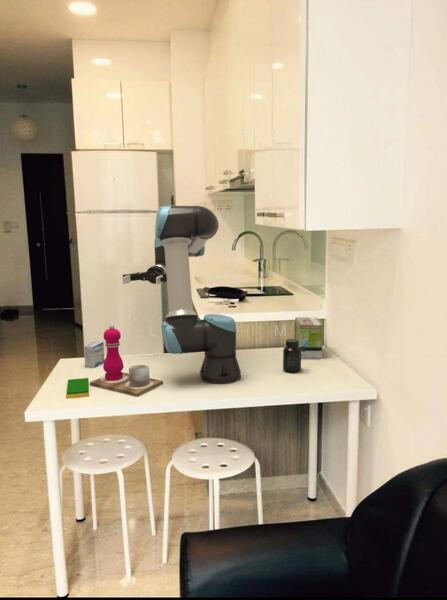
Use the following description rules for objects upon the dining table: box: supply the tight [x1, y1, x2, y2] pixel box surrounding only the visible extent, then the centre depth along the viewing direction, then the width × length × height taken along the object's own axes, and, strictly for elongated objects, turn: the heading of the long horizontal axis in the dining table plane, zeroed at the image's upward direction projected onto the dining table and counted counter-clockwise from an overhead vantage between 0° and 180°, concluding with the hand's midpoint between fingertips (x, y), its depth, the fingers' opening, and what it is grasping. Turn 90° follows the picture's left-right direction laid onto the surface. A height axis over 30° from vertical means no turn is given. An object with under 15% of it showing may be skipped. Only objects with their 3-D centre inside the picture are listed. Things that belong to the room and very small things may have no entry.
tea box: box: [294, 316, 324, 360], centre depth 215 cm, size 15×10×15 cm
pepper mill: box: [102, 323, 125, 381], centre depth 182 cm, size 7×7×20 cm
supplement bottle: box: [282, 338, 302, 374], centre depth 194 cm, size 7×7×12 cm
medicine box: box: [83, 340, 106, 368], centre depth 204 cm, size 8×4×9 cm, turn 162°
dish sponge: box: [66, 377, 90, 399], centre depth 176 cm, size 7×14×2 cm, turn 15°
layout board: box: [89, 364, 164, 398], centre depth 180 cm, size 22×14×7 cm, turn 59°
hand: (140, 280), depth 196 cm, fingers open, 13 cm apart
